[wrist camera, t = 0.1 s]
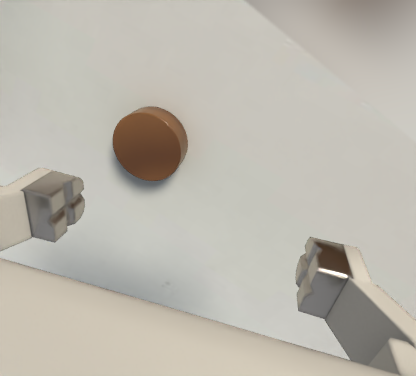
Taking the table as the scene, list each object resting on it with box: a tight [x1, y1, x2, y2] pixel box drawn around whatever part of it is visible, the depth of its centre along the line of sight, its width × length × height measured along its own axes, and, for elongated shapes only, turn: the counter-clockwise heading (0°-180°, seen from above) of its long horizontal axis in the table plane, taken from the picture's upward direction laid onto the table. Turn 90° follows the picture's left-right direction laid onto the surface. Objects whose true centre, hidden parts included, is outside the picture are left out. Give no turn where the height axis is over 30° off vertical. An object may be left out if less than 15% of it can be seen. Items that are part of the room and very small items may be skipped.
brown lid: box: [113, 107, 188, 181], centre depth 28 cm, size 7×7×2 cm
